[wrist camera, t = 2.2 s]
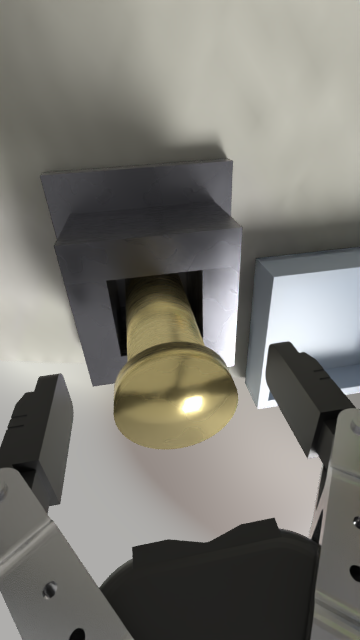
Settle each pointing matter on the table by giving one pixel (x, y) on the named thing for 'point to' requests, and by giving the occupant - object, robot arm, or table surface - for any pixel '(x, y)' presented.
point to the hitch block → (145, 249)
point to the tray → (306, 315)
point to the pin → (169, 370)
